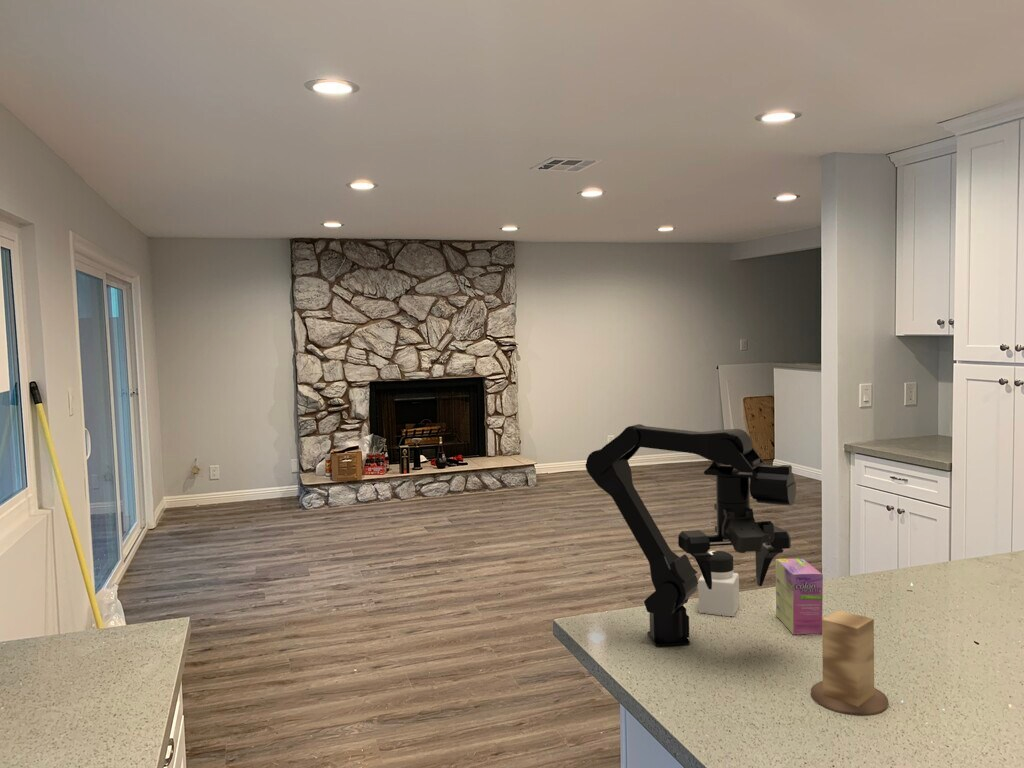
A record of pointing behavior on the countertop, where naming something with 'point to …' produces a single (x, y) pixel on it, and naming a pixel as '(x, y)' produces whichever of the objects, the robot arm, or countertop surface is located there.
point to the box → (799, 596)
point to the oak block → (848, 657)
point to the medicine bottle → (720, 587)
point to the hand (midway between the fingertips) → (734, 587)
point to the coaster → (869, 707)
